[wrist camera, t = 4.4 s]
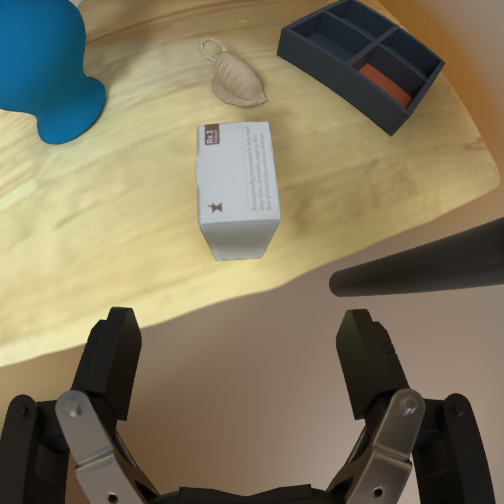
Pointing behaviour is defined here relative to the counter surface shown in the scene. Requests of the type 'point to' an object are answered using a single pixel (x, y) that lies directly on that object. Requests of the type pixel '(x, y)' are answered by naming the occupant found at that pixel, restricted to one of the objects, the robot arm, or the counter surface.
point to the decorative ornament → (233, 77)
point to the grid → (362, 60)
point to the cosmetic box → (236, 189)
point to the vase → (47, 67)
